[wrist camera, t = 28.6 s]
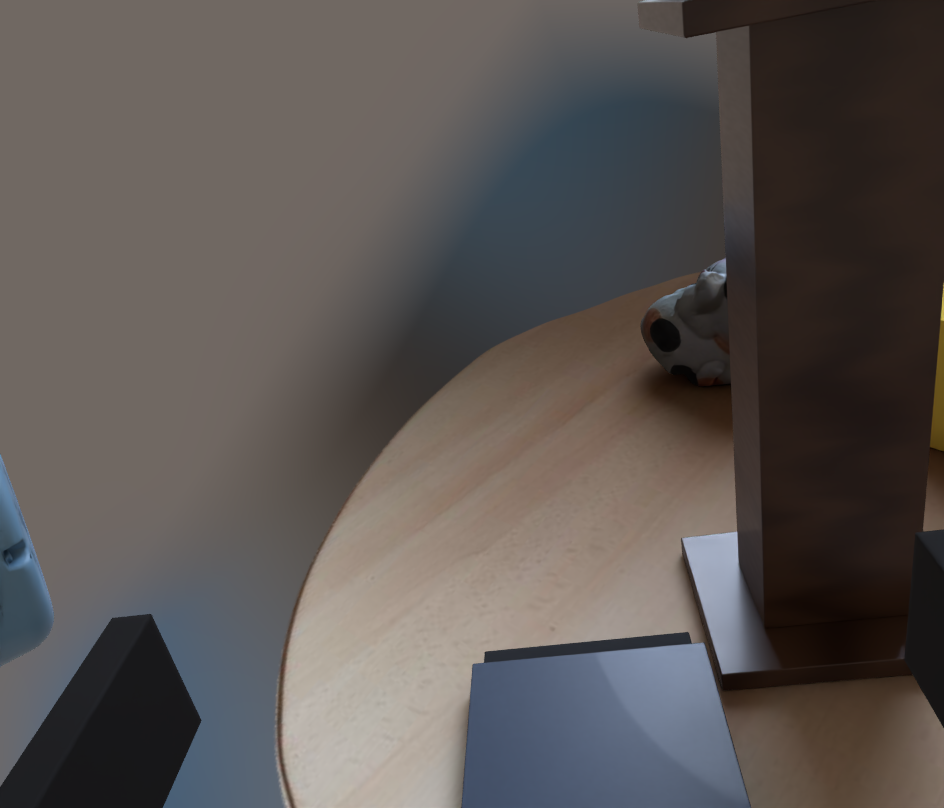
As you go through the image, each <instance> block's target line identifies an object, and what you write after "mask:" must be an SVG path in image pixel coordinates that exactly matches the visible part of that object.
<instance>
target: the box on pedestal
mask: <svg viewBox="0 0 944 808" xmlns="http://www.w3.org/2000/svg"><path fill="white" fill-rule="evenodd" d="M638 15H639V27H640V28H642V29H646V30H651V31H656V32H660V33H665V34H671V35H675V36H680V37H685V38H688V37H693V36H698V35H704V34H709V33H714V32H716V39H717V40H716V41H717V64H718V87H719V112H720V135H721V158H722V182H723V205H724V228H725V229H724V230H725V252H726V277H727V300H728V324H729V348H730V371H731V395H732V419H733V442H734V466H735V489H736V513H737V532H730V533H721V534H713V535H704V536H695V537H686V538H681V544H682V553H683V557H684V560H685V563H686V567H687V570H688V574H689V577H690V581H691V584H692V587H693V591H694V594H695V598H696V601H697V605H698V608H699V612H700V615H701V618H702V622H703V625H704V629H705V632H706V636H707V639H708V642H709V646H710V649H711V653H712V656H713V660H714V663H715V666H716V670H717V673H718V677H719V680H720V684H721V687H722V690H723V691H725V690H737V689H749V688H760V687H772V686H783V685H795V684H807V683H818V682H830V681H841V680H853V679H865V678H876V677H888V676H899V675H911V674H912V672H911V671H910V669H909V667H908V665H907V664H906V662H905V660H904V657H905V646H906V634H907V623H908V611H909V600H910V588H911V577H912V565H913V554H914V542H915V533H916V532H923V522H924V510H925V498H926V487H927V475H928V463H929V452H930V440H931V428H932V416H933V405H934V393H935V381H936V369H937V358H938V346H939V334H940V322H941V311H942V299H943V287H944V0H645V1H640V2H638Z"/></svg>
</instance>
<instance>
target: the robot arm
mask: <svg viewBox="0 0 944 808" xmlns="http://www.w3.org/2000/svg"><path fill="white" fill-rule="evenodd" d="M53 622H54V612H53V607H52V603H51V600H50V596H49V593H48V590H47V587H46V583H45V580H44V577H43V574H42V571H41V568H40V565H39V562H38V559H37V556H36V553H35V550H34V547H33V544H32V542H31V538H30V536H29V533H28V530H27V527H26V524H25V521H24V518H23V516H22V512H21V510H20V507H19V504H18V501H17V498H16V496H15V493H14V490H13V488H12V485H11V482H10V479H9V477H8V474H7V471H6V468H5V465H4V463H3V460H2V458H1V455H0V666H2V665H4V664H6V663H8V662H10V661H12V660H14V659H16V658H18V657H20V656H21V655H24V654H25V653H27V652H29V651H31V650H33V649H35V648H36V647H38V646H39V645H40V644H41V643H42V642H43V641H44V640H45V639H46V638H47V636H48V635H49V633H50V631H51V628H52V626H53ZM904 660H905V662H906V664H907V665H908V667H909V669H910V671H911V672H912V674H913V676H914V677H915V679H916V681H917V683H918V684H919V686H920V688H921V690H922V691H923V693H924V695H925V696H926V698H927V700H928V702H929V703H930V705H931V707H932V709H933V710H934V712H935V714H936V715H937V717H938V719H939V721H940V722H941V724H942V726H943V728H944V530H935V531H926V532H916V533H915V542H914V554H913V565H912V577H911V588H910V600H909V611H908V623H907V634H906V646H905V657H904ZM200 723H201V719H200V716H199V714H198V712H197V710H196V708H195V706H194V704H193V702H192V700H191V697H190V696H189V693H188V691H187V689H186V687H185V685H184V683H183V680H182V678H181V676H180V674H179V672H178V670H177V668H176V666H175V664H174V662H173V660H172V657H171V655H170V653H169V651H168V649H167V647H166V645H165V642H164V640H163V638H162V636H161V634H160V632H159V630H158V628H157V626H156V624H155V621H154V619H153V617H152V615H151V614H147V615H137V616H128V617H118V618H112V619H111V621H110V622H109V624H108V625H107V627H106V628H105V630H104V631H103V633H102V634H101V636H100V637H99V639H98V640H97V642H96V643H95V645H94V646H93V648H92V649H91V651H90V652H89V654H88V656H87V657H86V658H85V660H84V661H83V663H82V664H81V666H80V667H79V669H78V671H77V672H76V674H75V675H74V677H73V678H72V680H71V681H70V682H69V684H68V685H67V687H66V689H65V690H64V692H63V693H62V695H61V696H60V698H59V699H58V701H57V702H56V704H55V705H54V707H53V708H52V710H51V711H50V713H49V714H48V716H47V717H46V719H45V720H44V722H43V723H42V725H41V726H40V728H39V729H38V731H37V732H36V734H35V735H34V737H33V738H32V740H31V741H30V743H29V744H28V746H27V747H26V749H25V751H24V752H23V753H22V755H21V756H20V758H19V760H18V761H17V763H16V764H15V766H14V767H13V769H12V770H11V772H10V773H9V775H8V776H7V778H6V779H5V781H4V782H3V784H2V785H1V787H0V808H163V806H164V803H165V801H166V799H167V797H168V795H169V792H170V790H171V788H172V786H173V783H174V781H175V778H176V776H177V774H178V772H179V770H180V767H181V765H182V763H183V761H184V758H185V756H186V754H187V752H188V749H189V747H190V745H191V743H192V740H193V738H194V736H195V734H196V732H197V729H198V727H199V725H200Z"/></svg>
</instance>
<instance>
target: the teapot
mask: <svg viewBox="0 0 944 808" xmlns="http://www.w3.org/2000/svg"><path fill="white" fill-rule="evenodd" d="M930 447H931V448H934V449H937V450H940V451H944V287H943V299H942V311H941V322H940V334H939V346H938V358H937V369H936V381H935V393H934V405H933V416H932V428H931V440H930Z"/></svg>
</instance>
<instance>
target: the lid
mask: <svg viewBox="0 0 944 808" xmlns="http://www.w3.org/2000/svg"><path fill="white" fill-rule="evenodd" d="M461 808H751V806H750V802H749V799H748V795H747V791H746V788H745V784H744V781H743V777H742V774H741V770H740V767H739V763H738V759H737V756H736V752H735V749H734V745H733V742H732V738H731V735H730V731H729V728H728V724H727V720H726V717H725V713H724V710H723V706H722V703H721V699H720V696H719V692H718V689H717V685H716V681H715V678H714V674H713V671H712V667H711V664H710V660H709V657H708V653H707V650H706V646H705V643H693V644H683V645H672V646H661V647H650V648H640V649H629V650H618V651H607V652H597V653H586V654H575V655H564V656H554V657H543V658H532V659H521V660H511V661H500V662H489V663H478V664H473V667H472V679H471V692H470V705H469V718H468V731H467V743H466V756H465V769H464V782H463V795H462V807H461Z"/></svg>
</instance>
